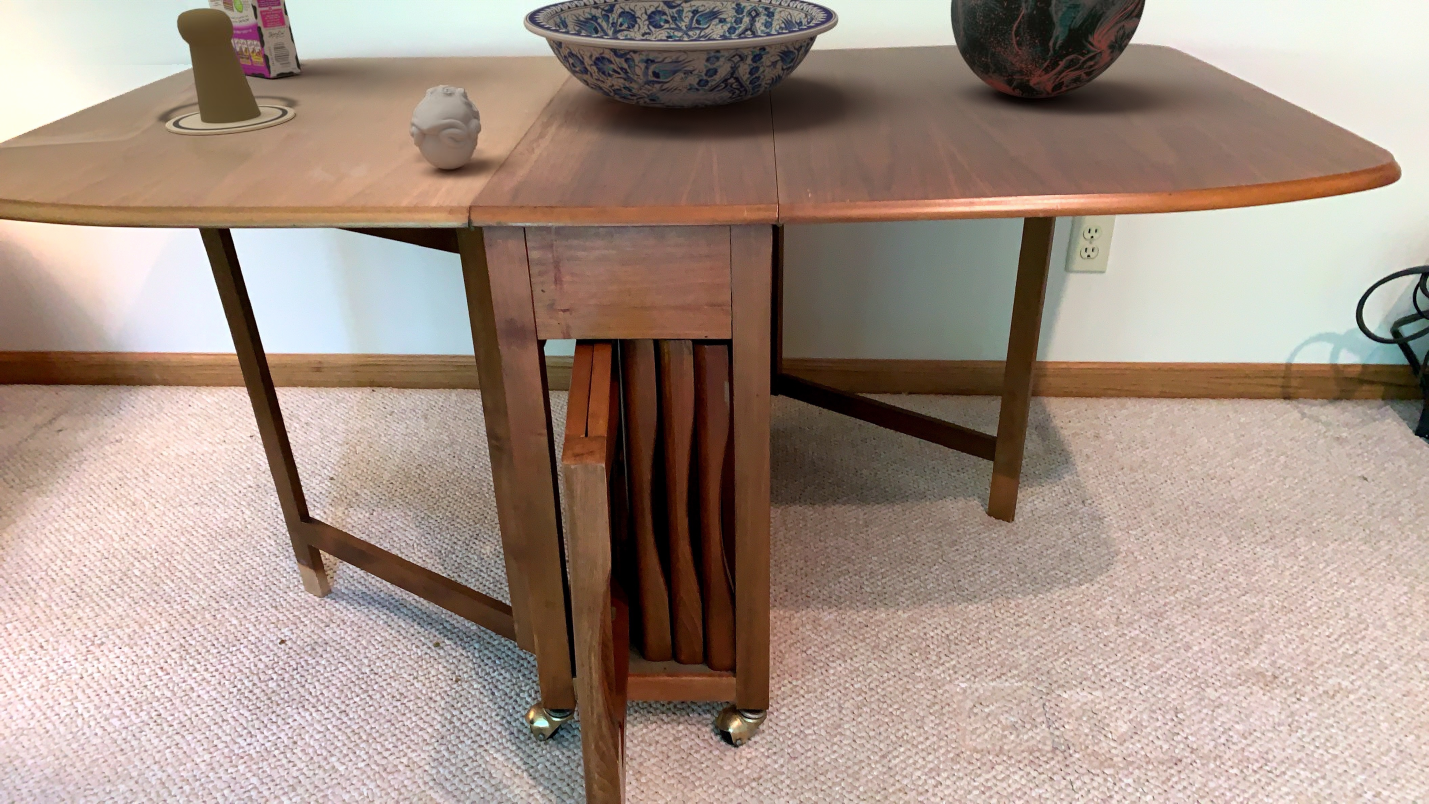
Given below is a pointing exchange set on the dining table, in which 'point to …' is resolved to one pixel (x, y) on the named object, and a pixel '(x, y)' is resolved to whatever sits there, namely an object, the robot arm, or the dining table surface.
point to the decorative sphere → (1042, 41)
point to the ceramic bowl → (681, 46)
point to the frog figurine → (446, 127)
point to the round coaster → (195, 126)
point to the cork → (216, 67)
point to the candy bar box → (261, 36)
